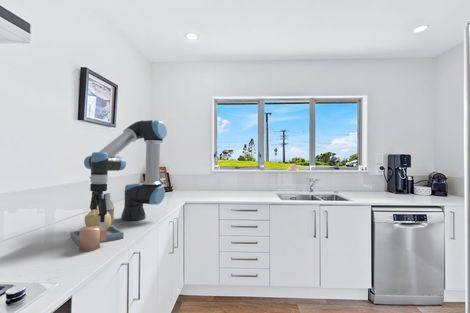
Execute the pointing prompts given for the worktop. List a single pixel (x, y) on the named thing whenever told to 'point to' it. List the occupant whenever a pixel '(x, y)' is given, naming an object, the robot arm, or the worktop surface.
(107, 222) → the sculpture
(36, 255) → the worktop surface
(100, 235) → the peach tabbed round part
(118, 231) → the tray
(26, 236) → the worktop surface
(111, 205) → the bath foam
